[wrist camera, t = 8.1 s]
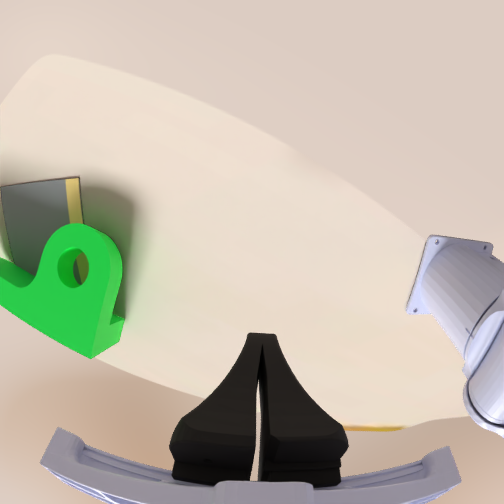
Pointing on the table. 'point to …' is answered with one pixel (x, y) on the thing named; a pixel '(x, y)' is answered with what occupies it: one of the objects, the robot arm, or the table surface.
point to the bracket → (69, 291)
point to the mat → (41, 220)
